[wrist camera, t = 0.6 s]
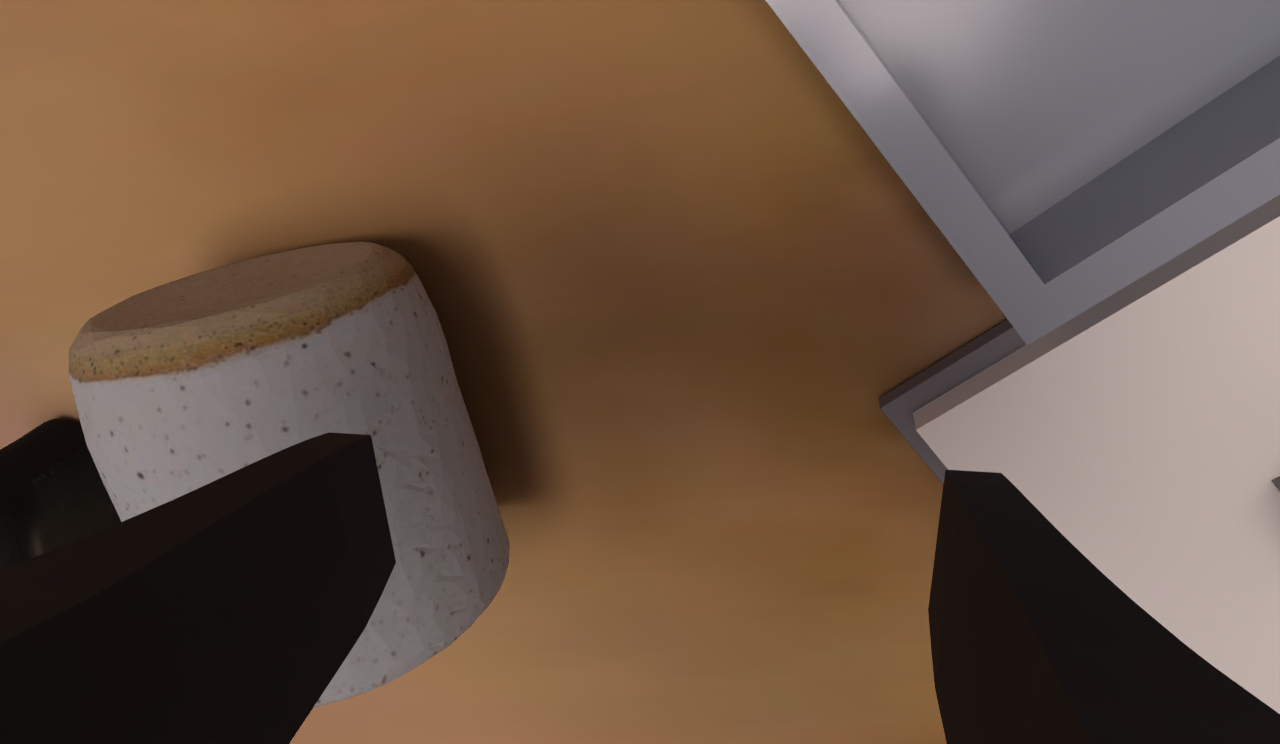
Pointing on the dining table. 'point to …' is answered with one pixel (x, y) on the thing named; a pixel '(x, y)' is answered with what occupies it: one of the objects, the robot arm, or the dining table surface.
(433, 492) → the ceramic mug
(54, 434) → the stapler
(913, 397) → the mat
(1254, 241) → the lid
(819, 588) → the dining table surface
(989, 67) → the tray
